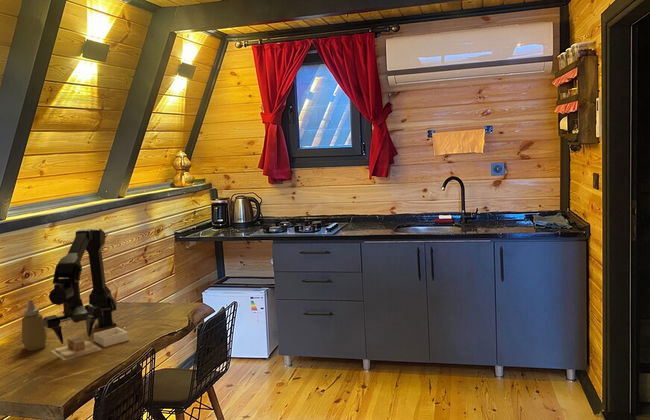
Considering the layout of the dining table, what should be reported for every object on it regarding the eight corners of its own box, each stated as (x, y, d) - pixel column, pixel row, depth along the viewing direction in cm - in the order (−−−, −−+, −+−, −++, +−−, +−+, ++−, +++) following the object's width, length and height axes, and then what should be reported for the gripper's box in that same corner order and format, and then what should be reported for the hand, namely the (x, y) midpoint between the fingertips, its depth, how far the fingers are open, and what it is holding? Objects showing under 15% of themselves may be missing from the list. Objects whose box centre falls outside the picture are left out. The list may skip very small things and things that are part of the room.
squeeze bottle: (23, 354, 202) (17, 304, 200) (23, 347, 209) (17, 299, 207) (48, 349, 206) (43, 300, 203) (47, 343, 213) (42, 295, 211)
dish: (94, 342, 211) (93, 333, 211) (118, 335, 217) (117, 326, 217) (104, 348, 205) (103, 338, 204) (128, 341, 211) (127, 332, 210)
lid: (54, 350, 203) (53, 340, 202) (86, 342, 210) (85, 332, 210) (66, 358, 195) (65, 347, 194) (98, 349, 202) (97, 338, 202)
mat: (51, 352, 203) (50, 350, 203) (88, 342, 212) (88, 340, 212) (64, 361, 193) (64, 360, 193) (102, 350, 202) (102, 349, 202)
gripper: (51, 307, 188) (56, 353, 190) (107, 294, 201) (111, 338, 203) (39, 301, 196) (44, 345, 198) (94, 289, 209) (98, 331, 211)
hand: (75, 340), depth 202 cm, fingers open, 9 cm apart
